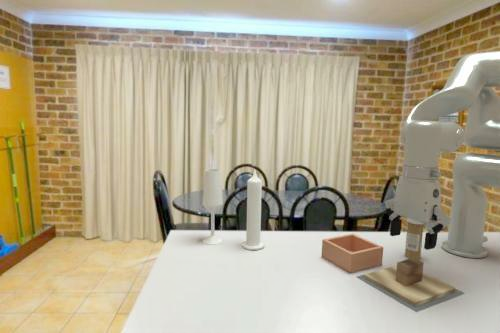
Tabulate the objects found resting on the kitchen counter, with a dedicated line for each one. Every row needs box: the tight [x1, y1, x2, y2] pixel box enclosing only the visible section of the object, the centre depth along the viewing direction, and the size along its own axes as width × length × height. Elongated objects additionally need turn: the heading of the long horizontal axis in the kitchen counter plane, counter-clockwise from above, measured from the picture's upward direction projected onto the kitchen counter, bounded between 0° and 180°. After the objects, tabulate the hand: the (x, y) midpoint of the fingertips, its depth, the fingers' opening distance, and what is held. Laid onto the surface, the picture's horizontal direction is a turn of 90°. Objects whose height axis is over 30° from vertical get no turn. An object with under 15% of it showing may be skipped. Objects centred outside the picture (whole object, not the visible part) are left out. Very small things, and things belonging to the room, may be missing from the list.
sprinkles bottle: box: [403, 218, 425, 261], centre depth 104 cm, size 5×5×14 cm
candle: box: [241, 169, 265, 252], centre depth 110 cm, size 7×7×25 cm
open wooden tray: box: [320, 233, 384, 274], centre depth 101 cm, size 12×12×6 cm
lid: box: [364, 258, 457, 307], centre depth 88 cm, size 15×15×6 cm
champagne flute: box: [202, 168, 224, 246], centre depth 114 cm, size 7×7×24 cm
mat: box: [356, 264, 466, 313], centre depth 88 cm, size 18×18×1 cm
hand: (411, 241), depth 86 cm, fingers open, 9 cm apart
